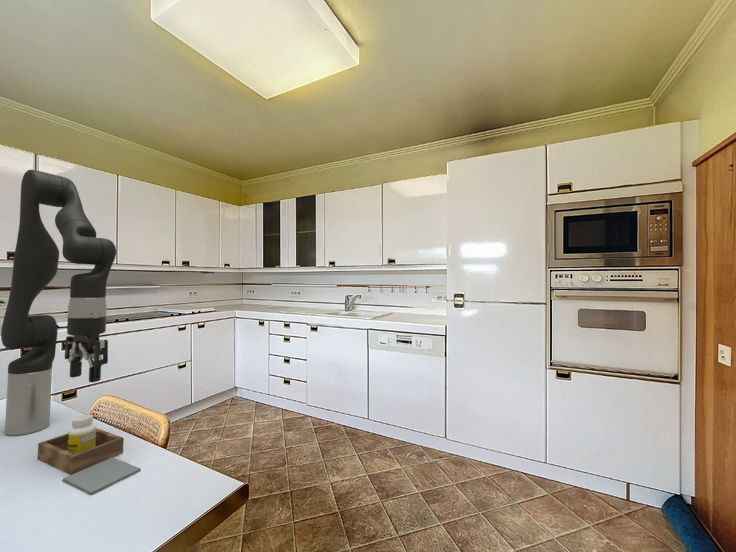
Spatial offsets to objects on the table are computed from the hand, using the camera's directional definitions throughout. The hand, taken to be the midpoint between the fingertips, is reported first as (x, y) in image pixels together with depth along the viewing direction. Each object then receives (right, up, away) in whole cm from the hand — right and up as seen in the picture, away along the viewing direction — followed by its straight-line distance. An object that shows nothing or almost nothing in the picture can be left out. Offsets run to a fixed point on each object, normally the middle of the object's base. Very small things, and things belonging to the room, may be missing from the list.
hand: (84, 379), depth 84 cm
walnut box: (-1, -19, 0) cm, 19 cm away
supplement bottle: (-1, -20, 0) cm, 20 cm away
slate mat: (+11, -20, -8) cm, 24 cm away
